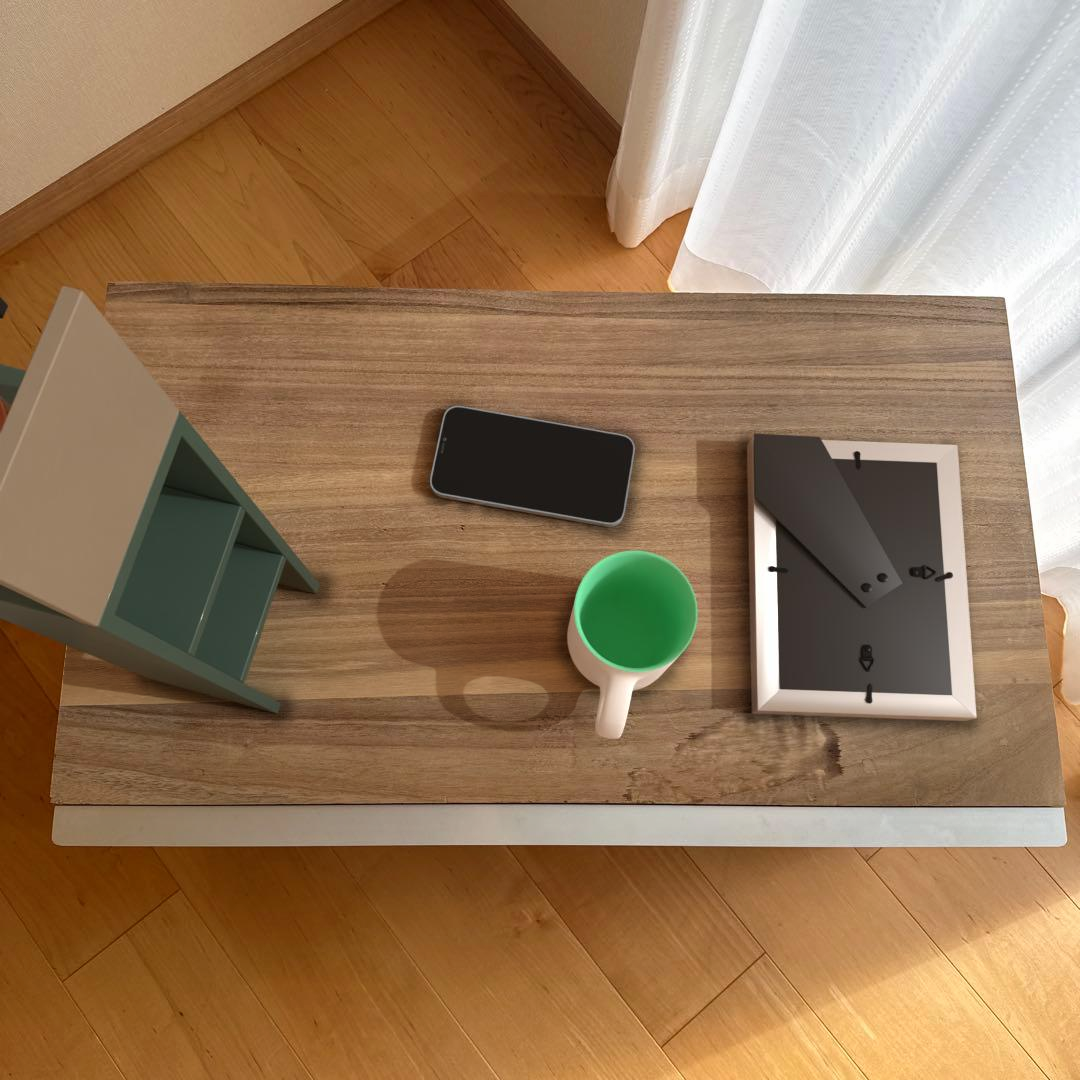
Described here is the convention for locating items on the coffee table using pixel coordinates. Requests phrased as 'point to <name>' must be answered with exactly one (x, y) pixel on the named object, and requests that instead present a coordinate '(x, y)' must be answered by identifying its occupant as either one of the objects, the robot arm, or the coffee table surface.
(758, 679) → the picture frame
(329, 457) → the coffee table surface
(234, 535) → the shelf
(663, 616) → the mug
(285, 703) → the coffee table surface
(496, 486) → the smartphone
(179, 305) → the coffee table surface
